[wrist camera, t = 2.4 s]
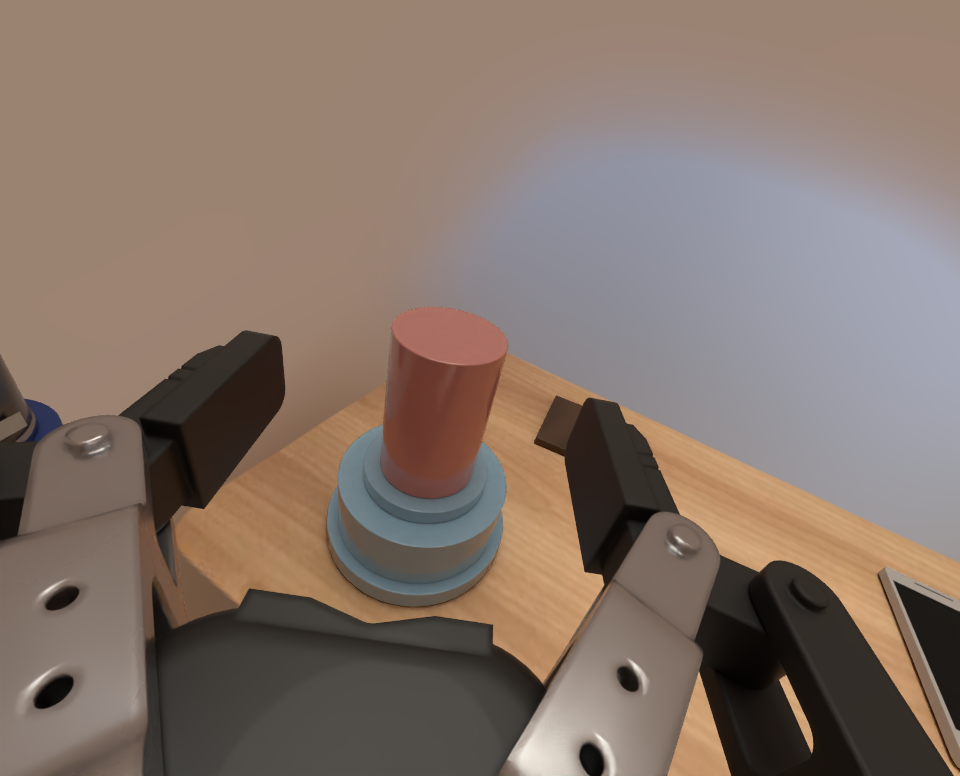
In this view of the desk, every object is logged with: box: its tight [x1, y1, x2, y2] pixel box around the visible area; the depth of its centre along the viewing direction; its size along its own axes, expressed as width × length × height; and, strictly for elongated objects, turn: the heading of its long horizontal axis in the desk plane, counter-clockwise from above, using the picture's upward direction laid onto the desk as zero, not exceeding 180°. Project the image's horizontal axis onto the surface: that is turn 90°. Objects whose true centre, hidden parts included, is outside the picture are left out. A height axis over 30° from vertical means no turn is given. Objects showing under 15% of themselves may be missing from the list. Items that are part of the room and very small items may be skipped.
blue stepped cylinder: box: [327, 425, 506, 607], centre depth 30 cm, size 13×13×7 cm
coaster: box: [534, 396, 627, 456], centre depth 44 cm, size 9×9×1 cm
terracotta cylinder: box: [380, 307, 508, 499], centre depth 25 cm, size 6×6×10 cm
